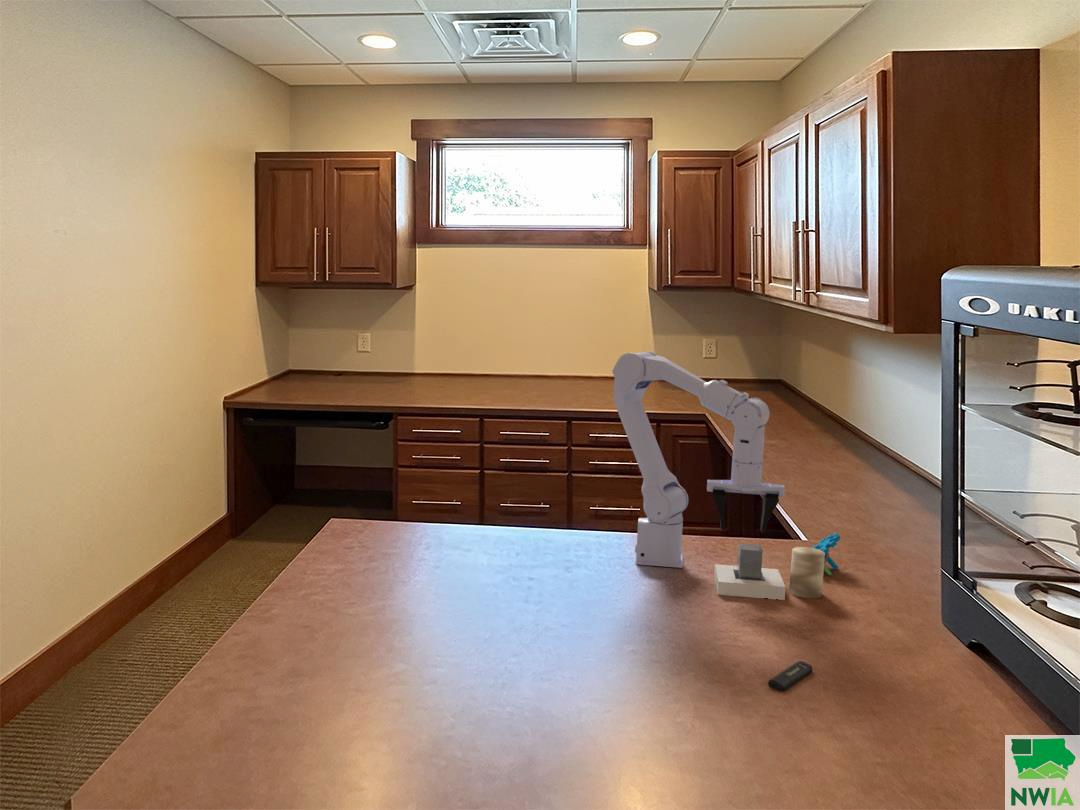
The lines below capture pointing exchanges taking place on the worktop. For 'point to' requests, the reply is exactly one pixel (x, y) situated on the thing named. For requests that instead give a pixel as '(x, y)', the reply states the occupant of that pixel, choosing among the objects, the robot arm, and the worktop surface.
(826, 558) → the gear
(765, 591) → the socket block
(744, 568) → the square peg
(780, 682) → the usb stick
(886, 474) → the worktop surface
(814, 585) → the round peg
